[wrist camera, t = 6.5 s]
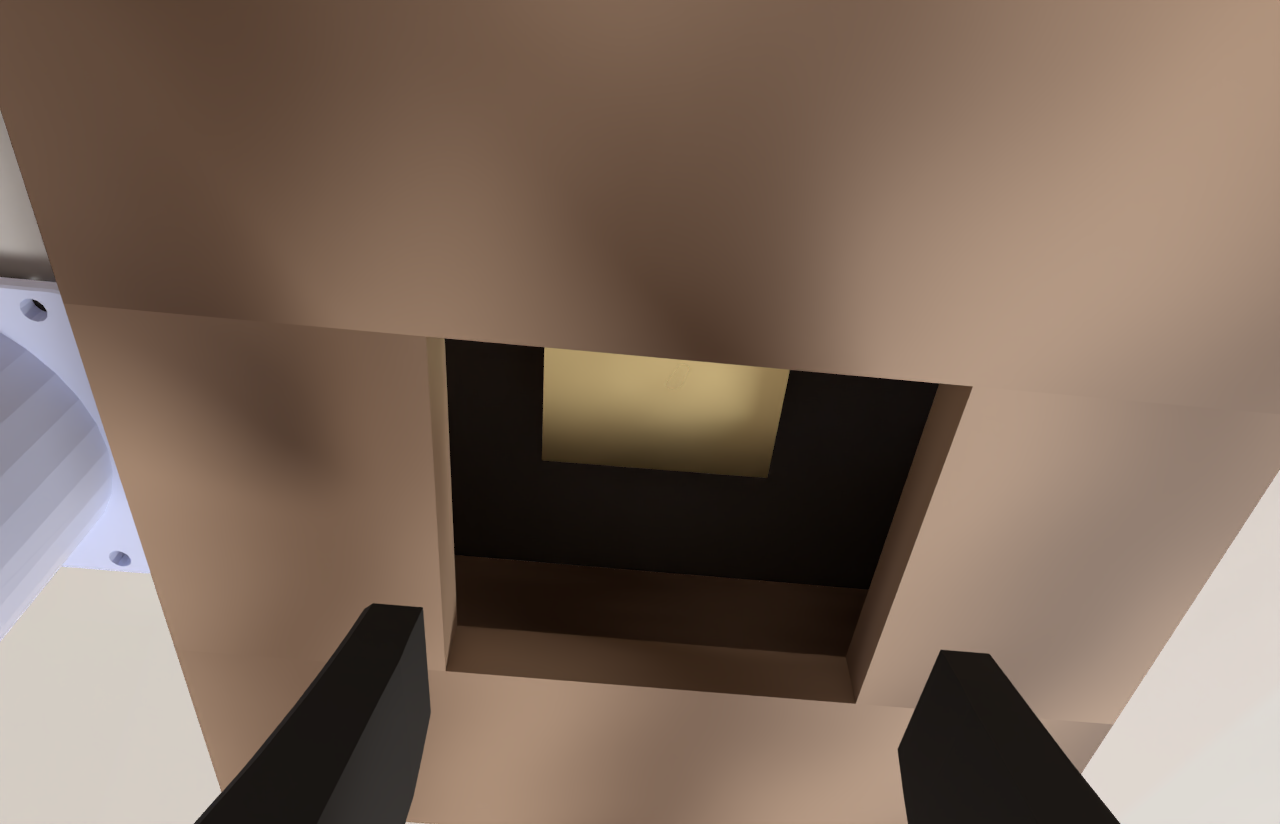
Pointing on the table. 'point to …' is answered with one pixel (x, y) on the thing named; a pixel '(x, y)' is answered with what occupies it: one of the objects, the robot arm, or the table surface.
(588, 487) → the table surface
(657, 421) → the brass cube
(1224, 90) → the coin box
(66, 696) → the table surface
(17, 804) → the table surface
